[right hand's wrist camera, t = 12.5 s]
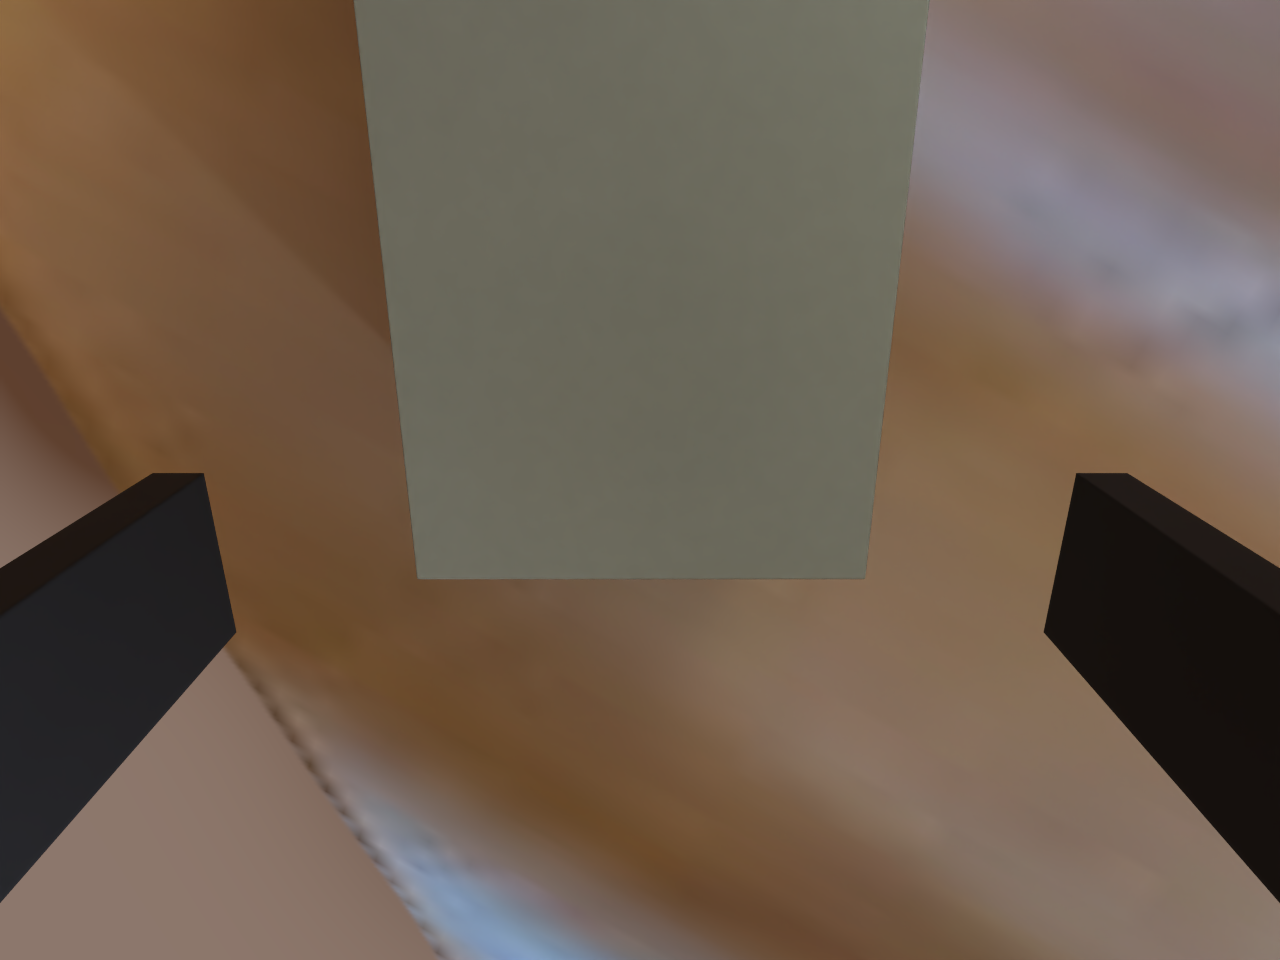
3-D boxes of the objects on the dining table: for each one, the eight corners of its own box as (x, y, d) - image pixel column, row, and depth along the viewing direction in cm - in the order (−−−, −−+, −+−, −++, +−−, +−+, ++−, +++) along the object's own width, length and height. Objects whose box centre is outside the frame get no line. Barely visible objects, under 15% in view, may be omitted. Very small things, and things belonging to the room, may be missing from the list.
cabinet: (447, -166, 23) (307, -412, 13) (834, -167, 23) (975, -412, 13) (490, 445, 30) (416, 580, 20) (791, 445, 30) (865, 580, 20)
